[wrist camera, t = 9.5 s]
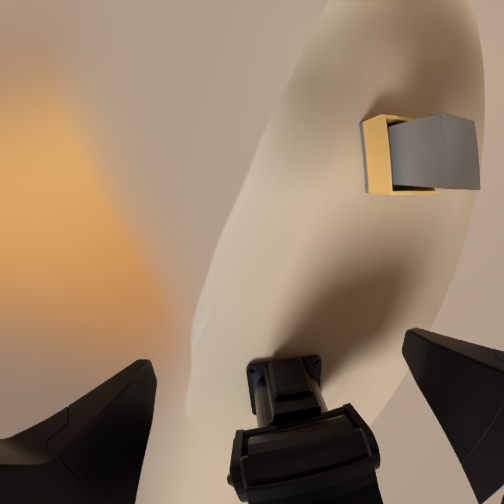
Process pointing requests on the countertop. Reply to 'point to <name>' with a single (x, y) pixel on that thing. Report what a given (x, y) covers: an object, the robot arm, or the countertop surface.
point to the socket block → (383, 158)
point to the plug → (435, 153)
